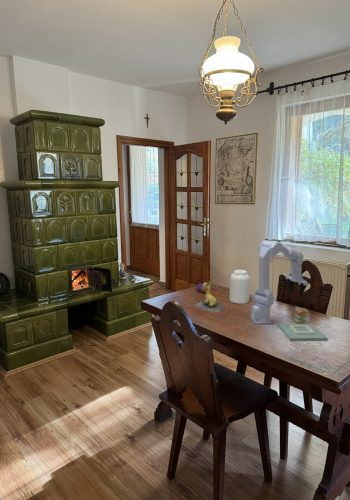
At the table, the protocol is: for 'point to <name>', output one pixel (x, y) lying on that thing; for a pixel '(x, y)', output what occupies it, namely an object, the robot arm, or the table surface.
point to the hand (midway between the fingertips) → (296, 293)
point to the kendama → (199, 288)
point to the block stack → (301, 316)
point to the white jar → (239, 287)
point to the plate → (302, 332)
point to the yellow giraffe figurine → (209, 300)
